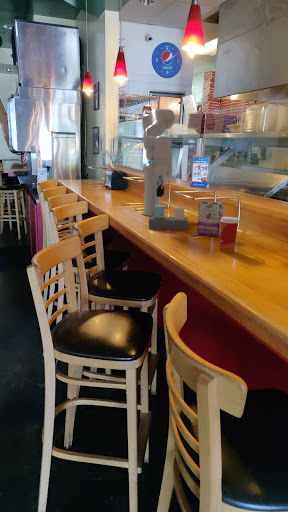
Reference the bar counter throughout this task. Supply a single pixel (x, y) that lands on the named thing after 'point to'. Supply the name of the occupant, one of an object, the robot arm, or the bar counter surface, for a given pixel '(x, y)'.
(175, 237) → the bar counter surface
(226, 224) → the paper cup
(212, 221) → the candy bar box
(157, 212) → the teal plug
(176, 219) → the block
